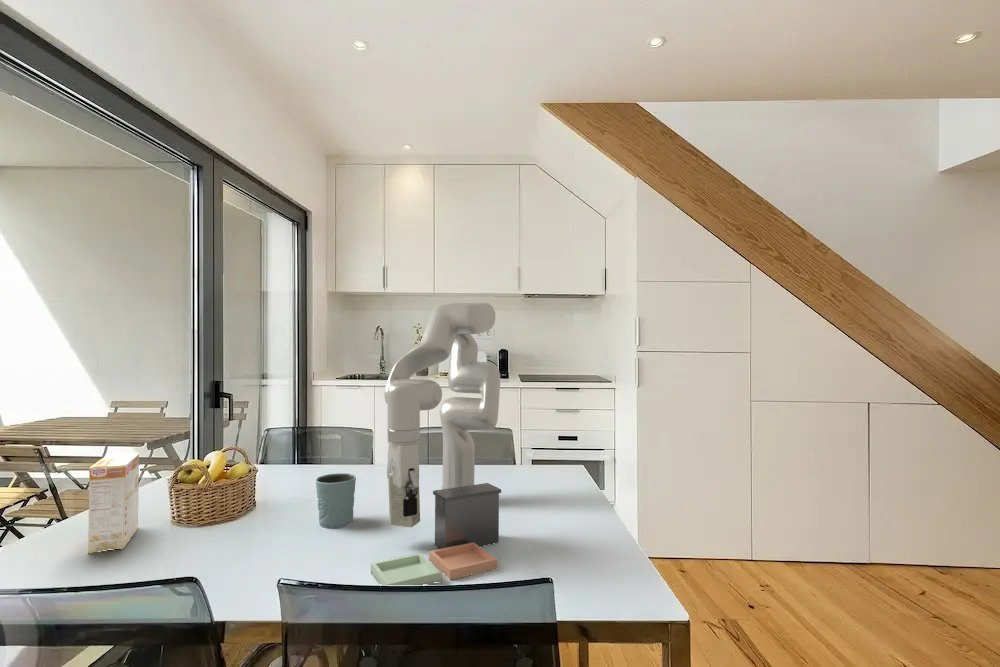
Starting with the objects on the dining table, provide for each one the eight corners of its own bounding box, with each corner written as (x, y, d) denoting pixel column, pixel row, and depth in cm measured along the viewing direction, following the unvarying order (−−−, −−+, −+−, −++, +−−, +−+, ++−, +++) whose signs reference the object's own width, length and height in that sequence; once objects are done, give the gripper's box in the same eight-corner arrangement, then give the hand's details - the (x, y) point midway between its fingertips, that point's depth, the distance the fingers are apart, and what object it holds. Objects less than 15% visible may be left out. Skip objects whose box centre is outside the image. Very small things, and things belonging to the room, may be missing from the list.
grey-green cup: (363, 520, 141) (363, 475, 142) (336, 532, 132) (337, 484, 132) (334, 514, 146) (334, 471, 146) (306, 526, 137) (307, 479, 137)
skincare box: (420, 521, 125) (420, 471, 125) (411, 528, 121) (411, 476, 121) (397, 518, 127) (397, 468, 127) (387, 525, 123) (387, 473, 123)
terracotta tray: (429, 560, 115) (429, 551, 115) (473, 550, 121) (473, 542, 121) (449, 580, 106) (450, 570, 106) (497, 568, 111) (497, 559, 111)
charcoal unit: (432, 545, 124) (433, 490, 124) (487, 534, 132) (487, 482, 132) (444, 555, 118) (444, 498, 119) (500, 543, 126) (501, 489, 126)
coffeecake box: (105, 532, 131) (107, 454, 132) (139, 528, 134) (140, 451, 134) (85, 554, 117) (87, 467, 118) (123, 549, 120) (125, 464, 121)
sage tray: (370, 573, 109) (370, 563, 109) (420, 562, 114) (420, 553, 114) (387, 595, 99) (387, 584, 99) (440, 582, 105) (440, 572, 105)
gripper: (377, 431, 130) (377, 502, 130) (400, 444, 115) (401, 525, 115) (406, 428, 133) (406, 497, 134) (432, 440, 118) (433, 518, 119)
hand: (404, 509), depth 124 cm, fingers closed on skincare box, 7 cm apart
